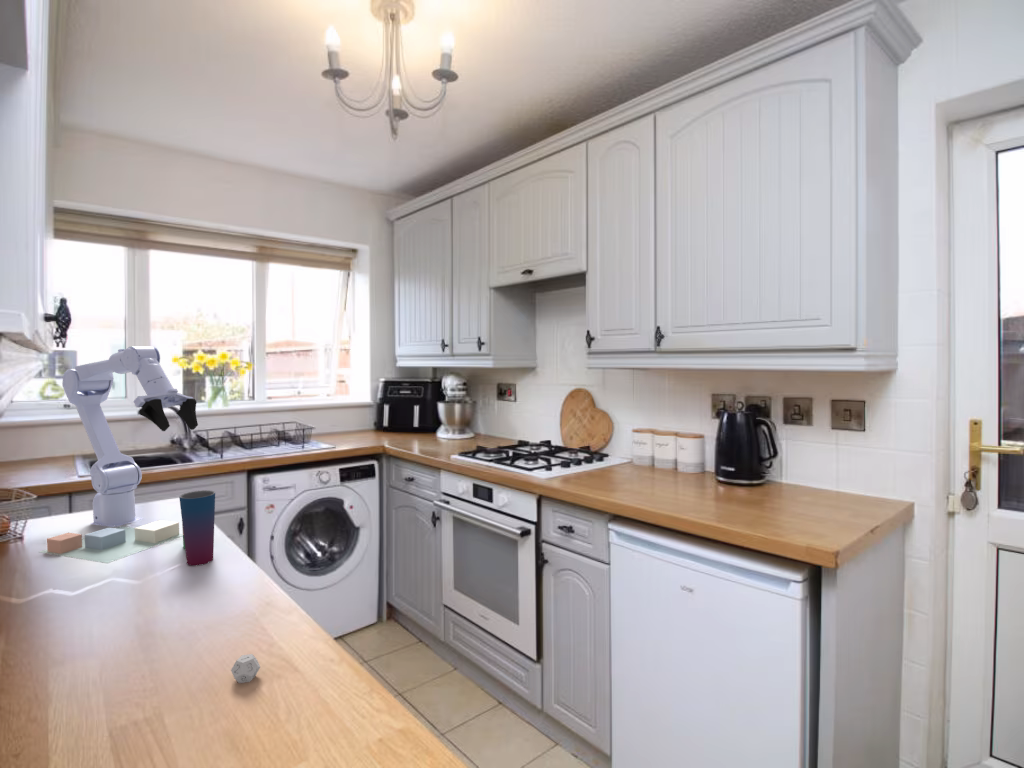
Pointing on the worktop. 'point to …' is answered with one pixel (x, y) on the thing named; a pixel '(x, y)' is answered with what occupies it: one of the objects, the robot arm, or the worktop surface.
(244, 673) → the game die
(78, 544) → the brick
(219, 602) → the worktop surface
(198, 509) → the cup
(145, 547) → the baseplate
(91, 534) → the brick
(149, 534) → the brick
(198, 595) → the worktop surface
